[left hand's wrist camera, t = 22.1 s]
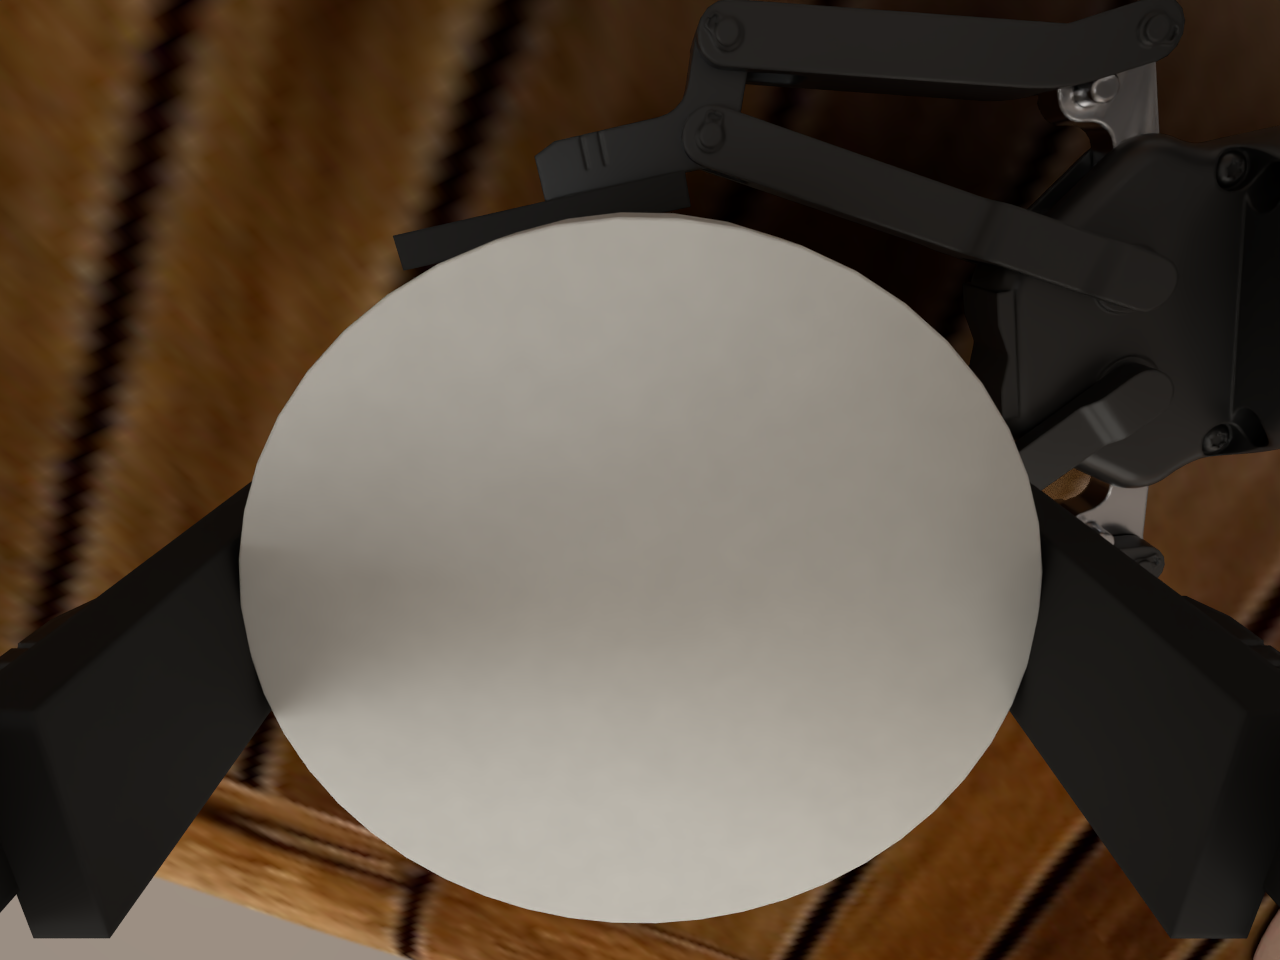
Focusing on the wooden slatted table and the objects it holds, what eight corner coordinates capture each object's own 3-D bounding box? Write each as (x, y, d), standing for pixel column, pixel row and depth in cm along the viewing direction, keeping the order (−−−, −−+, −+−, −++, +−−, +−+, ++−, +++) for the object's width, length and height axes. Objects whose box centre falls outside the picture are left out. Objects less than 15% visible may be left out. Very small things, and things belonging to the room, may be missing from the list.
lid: (1073, 248, 10) (1154, 259, 8) (907, 856, 14) (943, 943, 12) (262, 176, 10) (188, 174, 8) (316, 819, 13) (273, 903, 12)
